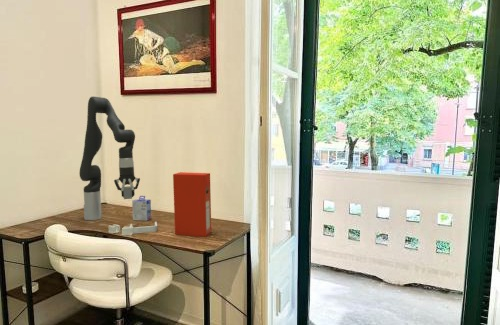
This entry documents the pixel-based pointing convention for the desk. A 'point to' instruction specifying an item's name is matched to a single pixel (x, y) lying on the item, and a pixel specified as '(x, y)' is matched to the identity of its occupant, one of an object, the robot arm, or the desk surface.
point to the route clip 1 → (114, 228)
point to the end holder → (144, 229)
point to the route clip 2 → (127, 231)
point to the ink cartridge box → (141, 209)
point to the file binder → (192, 204)
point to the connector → (127, 192)
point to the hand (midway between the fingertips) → (128, 197)
